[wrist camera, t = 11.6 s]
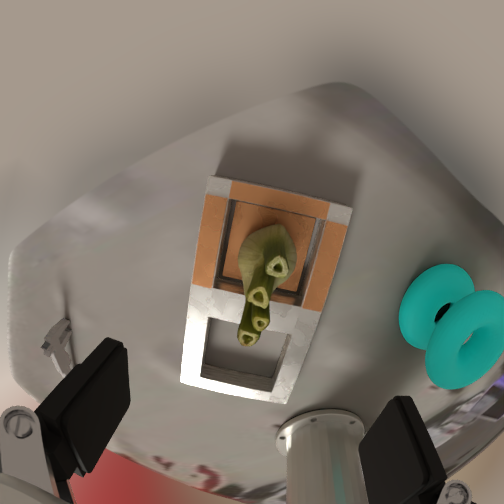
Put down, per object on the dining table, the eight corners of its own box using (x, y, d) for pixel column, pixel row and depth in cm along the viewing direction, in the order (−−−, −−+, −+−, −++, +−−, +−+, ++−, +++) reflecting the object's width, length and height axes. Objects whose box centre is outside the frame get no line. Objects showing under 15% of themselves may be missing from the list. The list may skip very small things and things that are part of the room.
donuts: (475, 397, 19) (411, 391, 18) (439, 347, 28) (379, 330, 28) (529, 312, 16) (477, 284, 16) (478, 275, 25) (421, 246, 25)
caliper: (65, 315, 31) (38, 338, 25) (71, 318, 31) (44, 341, 25) (84, 410, 37) (68, 433, 31) (89, 412, 37) (73, 436, 31)
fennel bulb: (273, 209, 25) (273, 243, 14) (310, 249, 26) (335, 311, 14) (227, 251, 27) (192, 314, 15) (263, 288, 27) (254, 368, 16)
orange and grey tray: (345, 204, 25) (353, 208, 22) (285, 389, 31) (285, 405, 29) (214, 175, 25) (208, 175, 22) (186, 368, 31) (180, 382, 29)
